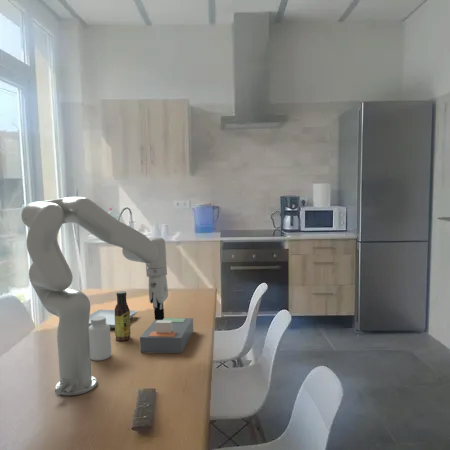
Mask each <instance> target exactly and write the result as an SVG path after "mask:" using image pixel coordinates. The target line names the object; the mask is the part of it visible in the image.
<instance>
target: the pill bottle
mask: <svg viewBox="0 0 450 450" xmlns="http://www.w3.org/2000/svg"><path fill="white" fill-rule="evenodd" d="M91 324H92V325H91V326H90V327H89V341H90V359H91V360H92V361H103V360H107V359H109V358H110V357H111V356H112V342H111V341H112V340H111V339H112V337H111V328H110V326H109V325H108V324H107V323H106V318H105V317H104V316H97V317H93V318H91Z"/></svg>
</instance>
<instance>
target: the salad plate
mask: <svg viewBox="0 0 450 450" xmlns="http://www.w3.org/2000/svg"><path fill="white" fill-rule="evenodd" d="M137 313H138V311H137V310H130V319H131V318H133V317H134V316H135V315H136V314H137ZM97 316H104V317H105V318H106V323H107V324H108V325H109V326H110V329H115V309H98V310H96V311H94V312H92V313H90V315H89V327H90V326H91V325H92V324H91V318H93V317H97Z"/></svg>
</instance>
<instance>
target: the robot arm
mask: <svg viewBox="0 0 450 450" xmlns="http://www.w3.org/2000/svg"><path fill="white" fill-rule="evenodd" d="M21 220H22V223H23V224H24V226H26V227H27V228H29V229H28V232H27V234H26V235H27V236H26V248H27V252H28V255H29V257H30V258H31V262H32V263H31V265H30V267H29V269H28V279H29V281H30V283H31V286H32V288H33V290H34V292H35V294H36V295H37V297H38V299H39V301H40V302H41V304H42V306H43V308H44V309H45V310H46V312H48V313H50V314H52V315H54V316H56V317H57V318H58V325H57V332H56V337H57V338H56V339H57V352H58V365H59V366H58V367H59V368H58V370H59V381H58V382H57V383H56V385H55V386H54V393H55V395H59V396H79V395H82V394H86V393H88V392H90V391H91V390H93V389H94V388H95V387H96V386H97V385H98V380H97V378H96V377H95V376H93V375H92V364H91V363H92V362H91V360H92V359H90V341H89V315H90V314H91V301H90V299H89V297H88V296H87V294H85V293H84V292H82V291H80V290H79V289H75V288H72V287H70V286H71V285H72V283H73V279H74V277H73V272H72V270H71V268H70V266H69V264H68V262H67V260H66V258H65V256H64V255H63V251H62V250H61V248H60V245H59V242H58V235H59V232H60V229H61V227H62V226H63V224H69V223H72V224H74V223H75V224H77V225H78V226H80V227H81V228H83V229H84V230H86V231H88V232H89V233H90V234H92V235H94V237H96V238H98V239H99V240H100V241H103V242H104V243H107V244H110V245H113V246H116V247H119V248H122V249H121V251H122V256H123V257H124V258H126V259H127V260H129V261H132V262H139V263H144V264H145V271H146V272H145V273H146V277H147V278H148V301H149V303H150V304H152V307H153V310H154V314H153V315H154V321H155V320H163V319H164V318H165V310H164V308H165V307H164V303H165V302H166V300H167V299H168V297H169V289H168V280H167V275H168V267H167V253H166V252H167V251H166V241H165V239H164V238H162V237H148V236H146V235H144V234H143V233H142V232H140V231H139V230H136V229H135V228H132V227H131V226H129V225H127V224H126V223H124V222H123V221H120V220H118V219H116V218H115V217H114V216H113V215H111V214H109V213H108V212H107V211H106V210H104V209H103V208H102V207H101V206H100V205H98V204H97V203H95V202H94V201H93V200H91V199H89V198H87V197H84V196H68V197H62V198H54V199H49V200H40V201H33V202H30V203H28V204H26V205H25V206H24V207H23V209H22V211H21Z"/></svg>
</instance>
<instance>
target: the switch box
mask: <svg viewBox="0 0 450 450" xmlns="http://www.w3.org/2000/svg"><path fill="white" fill-rule="evenodd" d="M163 320H172V325H173V331H172V332H171V333H156V322H157V320H155V319H154V320H153V322H152V323H151V324H150V325H149V326H148V327H147V329H146V330H145V331H144V332H143V333H142V334H141V335H140V337H139V341H140V342H139V343H140V345H139V346H140V347H139V348H140V353H147V354H150V353H153V354H154V353H156V354H157V353H158V354H160V353H161V354H182V353H183V351H184V350H185V348H186V346H187V344H188V343H189V341H190V338H191V337H192V335H193V333H194V317H188V318H187V317H164V319H163Z"/></svg>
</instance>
